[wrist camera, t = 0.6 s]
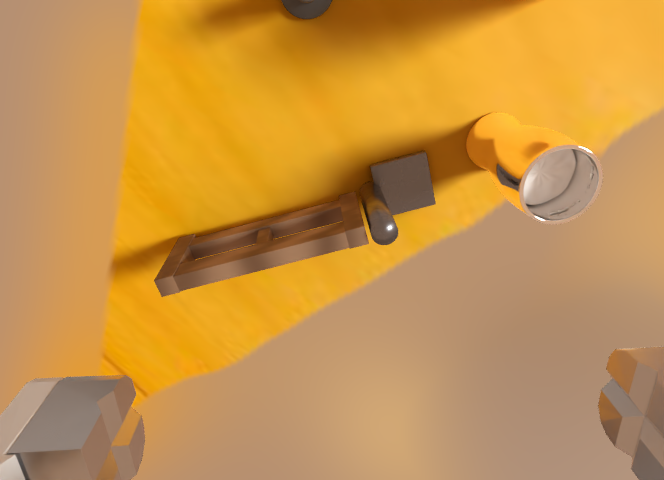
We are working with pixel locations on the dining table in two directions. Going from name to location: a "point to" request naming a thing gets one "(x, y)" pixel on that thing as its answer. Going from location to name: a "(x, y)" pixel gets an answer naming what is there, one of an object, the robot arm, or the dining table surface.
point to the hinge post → (395, 193)
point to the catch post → (306, 7)
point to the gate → (262, 245)
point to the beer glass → (536, 167)
